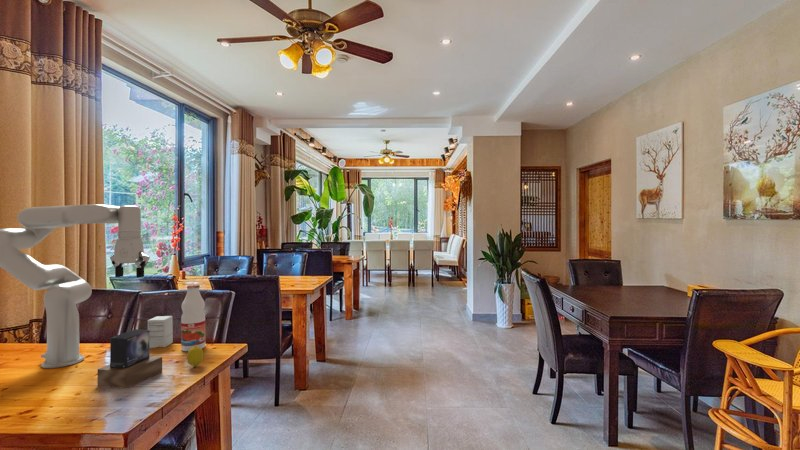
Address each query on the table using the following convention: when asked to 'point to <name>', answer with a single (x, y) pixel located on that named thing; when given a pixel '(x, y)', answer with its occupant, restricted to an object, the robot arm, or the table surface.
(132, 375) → the walnut block
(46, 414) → the table surface
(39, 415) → the table surface
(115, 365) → the small box
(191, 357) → the lemon
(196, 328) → the fruit juice
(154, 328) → the supplement box
